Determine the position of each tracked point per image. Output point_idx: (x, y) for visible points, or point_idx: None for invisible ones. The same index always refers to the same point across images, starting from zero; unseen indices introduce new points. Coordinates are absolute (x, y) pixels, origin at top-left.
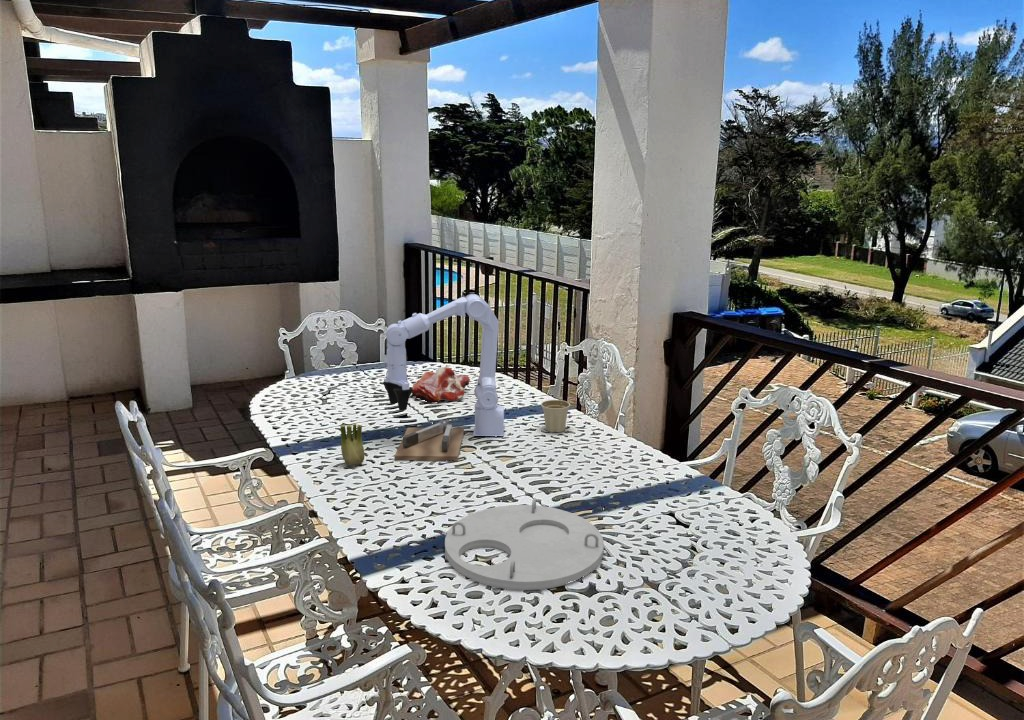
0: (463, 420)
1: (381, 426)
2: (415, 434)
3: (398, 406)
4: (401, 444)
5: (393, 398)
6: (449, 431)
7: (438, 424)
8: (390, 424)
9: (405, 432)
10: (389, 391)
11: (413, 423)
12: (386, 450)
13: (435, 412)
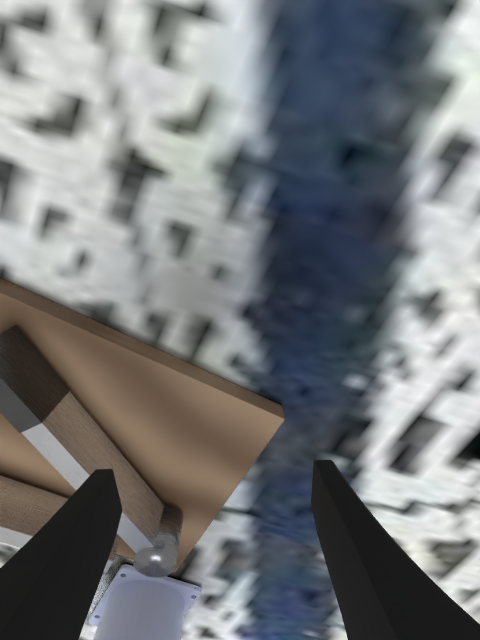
0: (299, 583)
1: (423, 331)
2: (7, 416)
3: (87, 494)
4: (65, 329)
5: (327, 523)
6: (12, 544)
7: (126, 536)
8: (422, 373)
9: (225, 393)
10: (368, 591)
11: (372, 453)
12: (82, 251)
13: (437, 545)
